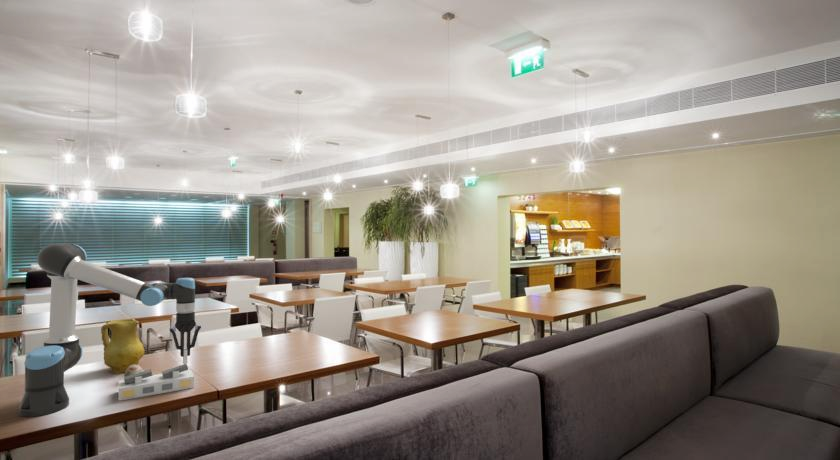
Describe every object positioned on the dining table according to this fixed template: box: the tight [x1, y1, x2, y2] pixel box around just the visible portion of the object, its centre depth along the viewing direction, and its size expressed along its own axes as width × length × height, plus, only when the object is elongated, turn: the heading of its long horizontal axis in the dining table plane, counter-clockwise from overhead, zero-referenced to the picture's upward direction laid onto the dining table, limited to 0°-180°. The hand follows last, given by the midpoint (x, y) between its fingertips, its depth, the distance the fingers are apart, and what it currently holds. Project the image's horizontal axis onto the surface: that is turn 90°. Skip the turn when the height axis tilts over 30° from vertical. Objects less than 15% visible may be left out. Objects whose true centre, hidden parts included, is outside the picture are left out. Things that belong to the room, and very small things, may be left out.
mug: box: [123, 364, 145, 378], centre depth 206 cm, size 8×10×10 cm
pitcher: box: [100, 318, 145, 374], centre depth 221 cm, size 17×19×25 cm
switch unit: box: [118, 366, 195, 401], centre depth 193 cm, size 28×12×8 cm, turn 125°
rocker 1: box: [123, 369, 153, 384], centre depth 189 cm, size 10×5×2 cm, turn 124°
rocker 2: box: [161, 363, 189, 378], centre depth 197 cm, size 10×5×2 cm, turn 124°
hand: (185, 363), depth 200 cm, fingers closed
